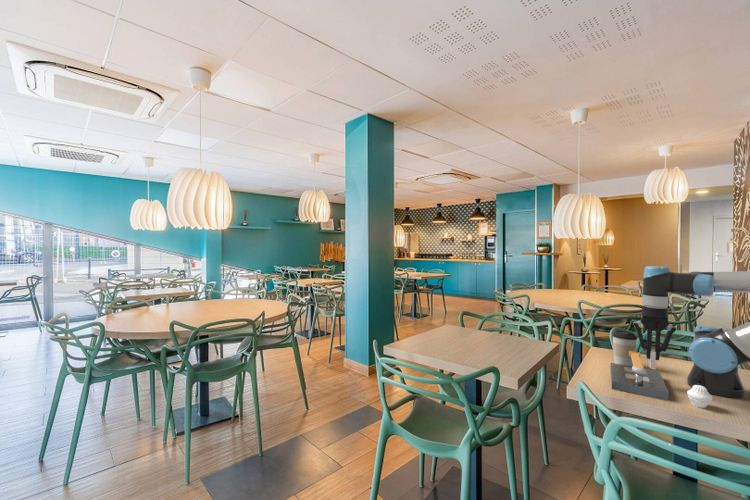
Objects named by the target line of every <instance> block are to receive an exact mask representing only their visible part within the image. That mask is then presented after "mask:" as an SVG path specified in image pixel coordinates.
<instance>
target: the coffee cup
mask: <svg viewBox="0 0 750 500" xmlns="http://www.w3.org/2000/svg"><path fill="white" fill-rule="evenodd" d="M611 336H612V352H613V353H612V354H613V363H615V364H621V365H627V366H633V362H632V359H631V357H629V351H632V352H637V351H636V349H637V340H638V337H637V336H638V335H635V333H634V332H631V331H627V330H615V331H614V332H613V333H612V335H611Z"/></svg>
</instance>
